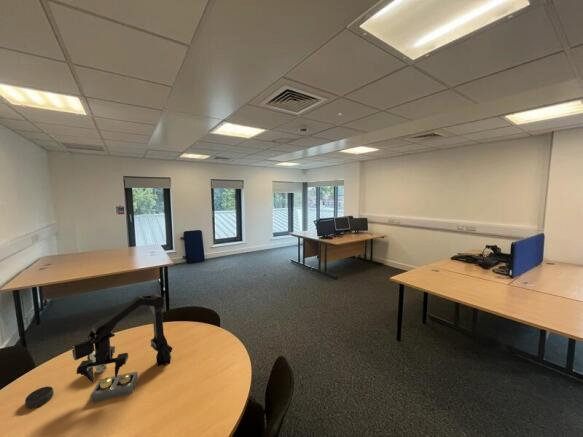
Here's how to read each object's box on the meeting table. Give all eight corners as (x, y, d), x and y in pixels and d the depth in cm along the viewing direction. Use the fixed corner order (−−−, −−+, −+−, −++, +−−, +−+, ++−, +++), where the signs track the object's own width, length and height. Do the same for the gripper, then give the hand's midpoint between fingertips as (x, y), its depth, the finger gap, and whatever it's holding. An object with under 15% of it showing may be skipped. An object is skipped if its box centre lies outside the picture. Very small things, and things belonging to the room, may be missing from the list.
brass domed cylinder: (113, 387, 118) (112, 376, 118) (110, 394, 114) (109, 382, 113) (103, 390, 117) (102, 378, 116) (99, 397, 112) (98, 385, 112)
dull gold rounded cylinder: (132, 383, 121) (131, 372, 120) (129, 389, 117) (129, 378, 116) (121, 385, 119) (121, 374, 119) (119, 392, 115) (118, 380, 115)
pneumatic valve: (105, 375, 126) (104, 353, 125) (87, 372, 129) (86, 351, 128) (115, 368, 132) (114, 347, 131) (98, 365, 134) (96, 344, 133)
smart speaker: (31, 398, 112) (30, 390, 112) (56, 390, 117) (55, 382, 116) (21, 412, 105) (20, 404, 104) (49, 404, 109) (48, 395, 109)
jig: (137, 378, 124) (137, 371, 124) (132, 393, 115) (131, 385, 114) (100, 387, 118) (99, 379, 118) (91, 403, 109) (90, 395, 109)
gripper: (130, 335, 124) (132, 363, 125) (86, 343, 117) (88, 372, 119) (124, 348, 114) (125, 378, 115) (74, 357, 107) (77, 389, 108)
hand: (104, 379), depth 115 cm, fingers open, 9 cm apart
